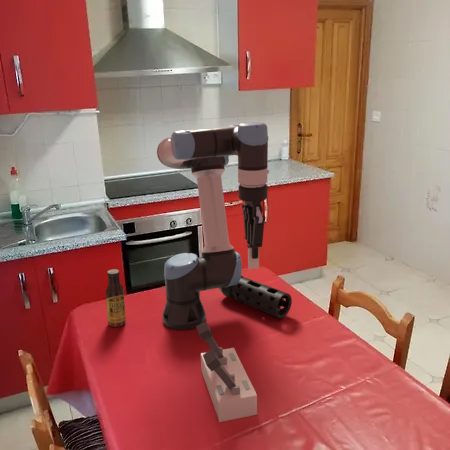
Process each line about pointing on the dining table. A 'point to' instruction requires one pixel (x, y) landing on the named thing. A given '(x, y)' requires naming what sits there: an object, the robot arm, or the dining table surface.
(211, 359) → the outer lever
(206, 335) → the inner lever
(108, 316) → the sauce bottle
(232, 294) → the muzzle brake
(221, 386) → the switch panel
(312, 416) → the dining table surface
